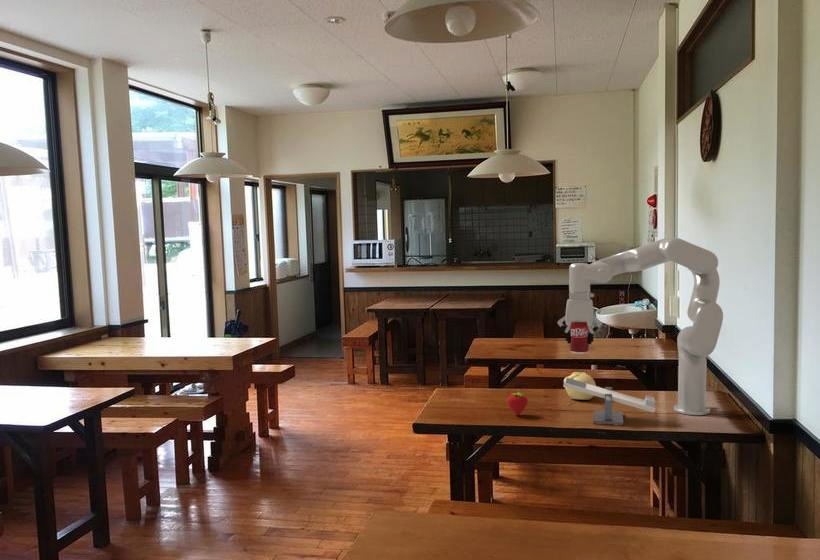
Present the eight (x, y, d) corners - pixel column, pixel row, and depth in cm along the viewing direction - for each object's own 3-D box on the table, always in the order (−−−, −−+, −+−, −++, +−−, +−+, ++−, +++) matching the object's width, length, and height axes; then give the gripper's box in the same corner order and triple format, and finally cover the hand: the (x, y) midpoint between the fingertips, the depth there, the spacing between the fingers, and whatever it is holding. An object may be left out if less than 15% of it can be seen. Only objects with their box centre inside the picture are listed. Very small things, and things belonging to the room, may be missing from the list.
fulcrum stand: (622, 414, 248) (622, 386, 247) (623, 425, 235) (623, 396, 234) (594, 412, 251) (594, 385, 250) (593, 423, 238) (593, 394, 237)
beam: (653, 406, 242) (655, 397, 241) (654, 412, 234) (657, 403, 234) (564, 381, 250) (566, 372, 250) (563, 386, 243) (565, 377, 242)
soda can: (589, 354, 248) (589, 321, 247) (569, 353, 250) (569, 321, 249) (589, 350, 255) (589, 319, 254) (569, 350, 257) (569, 318, 256)
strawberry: (507, 412, 254) (507, 386, 253) (527, 413, 252) (527, 386, 252) (506, 417, 248) (506, 390, 247) (527, 417, 247) (527, 390, 246)
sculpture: (577, 393, 280) (577, 367, 279) (601, 398, 271) (601, 372, 270) (559, 398, 273) (559, 372, 272) (583, 404, 264) (583, 376, 263)
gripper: (604, 295, 252) (604, 342, 253) (556, 294, 257) (556, 340, 259) (603, 297, 245) (603, 346, 246) (554, 297, 250) (554, 344, 252)
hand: (579, 343), depth 252 cm, fingers closed on soda can, 7 cm apart
